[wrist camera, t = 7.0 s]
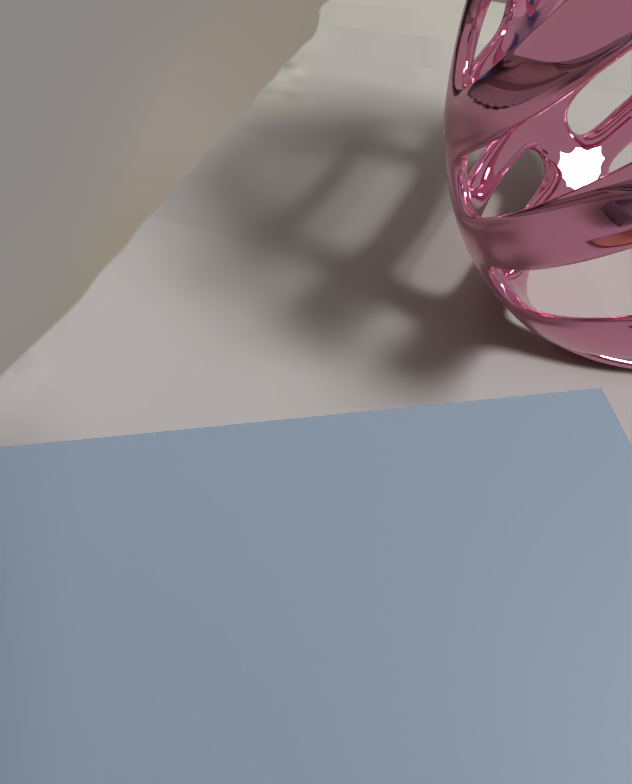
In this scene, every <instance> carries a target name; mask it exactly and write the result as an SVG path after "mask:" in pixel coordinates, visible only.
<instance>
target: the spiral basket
mask: <svg viewBox="0 0 632 784" xmlns="http://www.w3.org/2000/svg"><path fill="white" fill-rule="evenodd" d="M490 2H491V0H466V1H465V5H464V8H463V12H462V16H461V20H460V24H459V29H458V33H457V38H456V42H455V47H454V52H453V57H452V63H451V68H450V74H449V80H448V86H447V93H446V100H445V108H444V117H443V140H444V153H445V163H446V171H447V178H448V185H449V191H450V197H451V202H452V206H453V211H454V215H455V219H456V222H457V225H458V228H459V231H460V234H461V236H462V239H463V241H464V244H465V246H466V248H467V250H468V252H469V254H470V256H471V258H472V260H473V262H474V264H475V265H476V267H477V269H478V271H479V272H480V274H481V275H482V277H483V278H484V280H485V281H486V283H487V284H488V286H489V287H490V288H491V290H492V291H493V292H494V294H495V295H496V296H497V297H498V299H499V300H500V301H501V302H502V303H503V305H504V306H505V307H506V308H507V309H508V310H509V311H510V312H511V313H512V314H513V315H514V316H515V317H516V318H517V319H518V320H519V321H520V322H521V323H522V324H523V325H524V326H526V327H527V328H528V329H529V330H531V331H532V332H533V333H535V334H537V335H538V336H540V337H542V338H544V339H546V340H548V341H550V342H551V343H553V344H555V345H557V346H559V347H561V348H563V349H565V350H568V351H570V352H572V353H574V354H577V355H579V356H582V357H585V358H588V359H591V360H594V361H597V362H601V363H604V364H608V365H613V366H618V367H623V368H630V369H632V315H627V316H616V317H596V318H583V317H566V316H558V315H553V314H548V313H544V312H541V311H538V310H537V309H536V308H535V307H534V306H533V305H532V304H531V302H530V301H529V299H528V297H527V279H528V274H529V270H538V269H546V268H553V267H559V266H565V265H570V264H575V263H579V262H584V261H588V260H592V259H596V258H600V257H603V256H607V255H611V254H614V253H618V252H621V251H624V250H628V249H631V248H632V162H631V163H629V164H627V165H625V166H623V167H621V168H619V169H617V170H615V171H613V172H611V173H609V167H610V165H611V163H612V161H613V160H614V159H615V157H616V156H617V155H618V154H619V153H620V152H621V151H622V150H623V149H624V148H625V147H626V146H627V145H629V144H630V143H631V142H632V95H631V96H630V97H629V98H628V99H627V100H625V101H624V102H623V103H622V104H621V105H620V106H619V107H618V108H616V109H615V110H614V111H613V112H612V113H611V114H610V115H609V116H608V117H607V118H606V119H604V120H603V121H602V122H601V123H600V124H599V125H598V126H596V127H595V128H594V129H592V130H591V131H589V132H588V133H585V134H582V135H578V134H576V133H574V132H573V131H572V130H571V129H570V127H569V125H568V121H567V112H568V109H569V106H570V104H571V103H572V101H573V100H574V98H575V97H576V96H577V94H578V93H579V92H580V91H581V90H582V89H583V88H584V87H585V86H586V85H587V84H588V83H589V82H590V81H591V80H592V79H593V78H594V77H595V76H596V75H597V74H599V73H600V72H601V71H603V70H604V69H606V68H607V67H608V66H610V65H611V64H612V63H614V62H615V61H616V60H618V59H619V58H621V57H622V56H623V55H625V54H626V53H627V52H629V51H630V50H631V49H632V0H506V5H505V10H504V15H503V18H502V21H501V24H500V26H499V28H498V30H497V32H496V33H495V35H494V37H493V38H492V39H491V41H490V42H489V43H488V44H487V45H486V47H485V48H484V49H483V50H482V51H481V52H480V54H479V55H478V56H477V57H476V58H475V60H474V55H475V51H476V47H477V42H478V39H479V35H480V31H481V28H482V25H483V21H484V18H485V15H486V12H487V10H488V7H489V4H490ZM473 60H474V61H473ZM485 146H487V147H486V148H485V149H484V151H483V152H482V154H481V155H480V156H479V158H478V159H477V161H476V162H475V164H474V165H473V167H472V169H471V170H470V172H469V174H468V172H467V155H468V154H469V153H471V152H473V151H476V150H478V149H480V148H483V147H485ZM530 149H532V150H535V151H536V152H537V153H538V154H539V155H540V157H541V158H542V160H543V163H544V167H545V175H544V178H543V181H542V183H541V185H540V186H539V188H538V189H537V191H536V192H535V194H534V195H533V196H532V198H531V199H530V200H529V202H528V203H527V204H526V206H525V207H524V209H523V210H520V211H516V212H513V213H509V214H505V215H501V216H495V217H487V218H482V214H483V212H484V209H485V207H486V205H487V203H488V201H489V200H490V198H491V196H492V194H493V193H494V191H495V189H496V188H497V186H498V185H499V183H500V182H501V180H502V179H503V178H504V176H505V175H506V173H507V172H508V171H509V169H510V168H511V167H512V165H513V164H514V163H515V161H516V160H517V159H518V158H519V157H520V156H521V155H522V154H523V153H524V152H525V151H527V150H530Z"/></svg>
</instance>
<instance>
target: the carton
mask: <svg viewBox="0 0 632 784" xmlns="http://www.w3.org/2000/svg"><path fill="white" fill-rule="evenodd" d="M0 784H632V446H631V444H630V442H629V440H628V438H627V437H626V435H625V433H624V431H623V429H622V427H621V425H620V423H619V421H618V419H617V417H616V415H615V413H614V412H613V410H612V408H611V406H610V404H609V402H608V400H607V398H606V396H605V394H604V392H603V390H602V388H600V389H589V390H579V391H569V392H559V393H549V394H539V395H529V396H519V397H509V398H499V399H488V400H478V401H468V402H458V403H448V404H438V405H428V406H418V407H408V408H397V409H387V410H377V411H367V412H357V413H347V414H337V415H327V416H317V417H307V418H296V419H286V420H276V421H266V422H256V423H246V424H236V425H226V426H216V427H206V428H195V429H185V430H175V431H165V432H155V433H145V434H135V435H125V436H115V437H104V438H94V439H84V440H74V441H64V442H54V443H44V444H34V445H24V446H14V447H3V448H0Z"/></svg>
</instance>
